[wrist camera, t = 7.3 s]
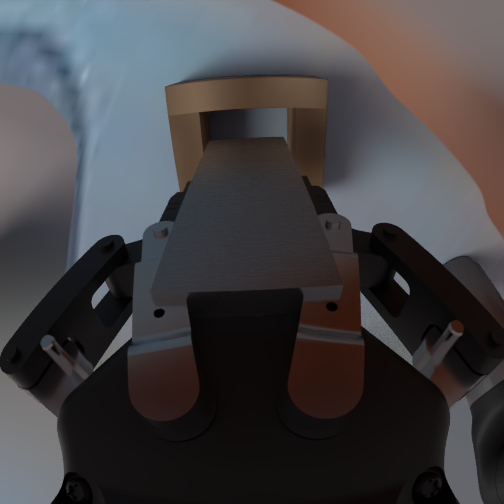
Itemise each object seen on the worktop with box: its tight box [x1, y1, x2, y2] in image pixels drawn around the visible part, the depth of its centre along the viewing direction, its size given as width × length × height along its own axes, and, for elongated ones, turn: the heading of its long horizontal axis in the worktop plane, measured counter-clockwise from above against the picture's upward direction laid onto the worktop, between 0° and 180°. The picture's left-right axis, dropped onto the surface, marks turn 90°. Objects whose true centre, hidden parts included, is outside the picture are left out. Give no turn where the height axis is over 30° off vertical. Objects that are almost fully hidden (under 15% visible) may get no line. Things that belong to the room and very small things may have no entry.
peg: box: [150, 137, 343, 317], centre depth 11 cm, size 4×4×11 cm
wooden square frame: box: [165, 75, 328, 192], centre depth 19 cm, size 10×10×4 cm
